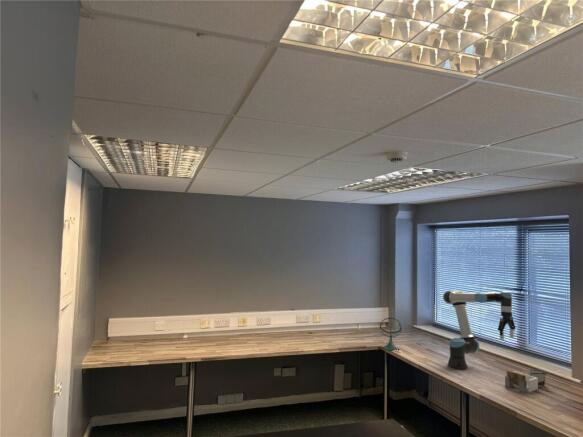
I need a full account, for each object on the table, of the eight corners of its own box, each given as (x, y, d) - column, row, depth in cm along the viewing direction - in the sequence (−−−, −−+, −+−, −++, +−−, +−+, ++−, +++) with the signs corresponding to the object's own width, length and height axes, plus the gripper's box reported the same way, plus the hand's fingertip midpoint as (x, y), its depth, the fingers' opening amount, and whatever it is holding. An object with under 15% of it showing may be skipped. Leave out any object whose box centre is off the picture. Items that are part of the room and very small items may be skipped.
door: (507, 381, 274) (507, 370, 275) (508, 381, 275) (508, 370, 276) (524, 387, 264) (523, 375, 265) (525, 386, 265) (525, 375, 266)
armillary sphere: (383, 353, 352) (383, 315, 357) (376, 347, 377) (376, 312, 382) (405, 353, 352) (405, 316, 357) (397, 347, 378) (397, 312, 382)
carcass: (503, 385, 276) (503, 374, 276) (515, 381, 284) (515, 371, 284) (525, 393, 262) (525, 381, 262) (537, 389, 270) (537, 377, 271)
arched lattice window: (540, 382, 283) (540, 369, 284) (546, 385, 277) (546, 372, 278) (525, 382, 283) (524, 369, 284) (530, 385, 277) (530, 372, 277)
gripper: (502, 313, 281) (502, 341, 280) (520, 310, 294) (520, 338, 292) (492, 311, 288) (492, 339, 286) (510, 309, 300) (510, 335, 299)
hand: (506, 338), depth 289 cm, fingers open, 13 cm apart
